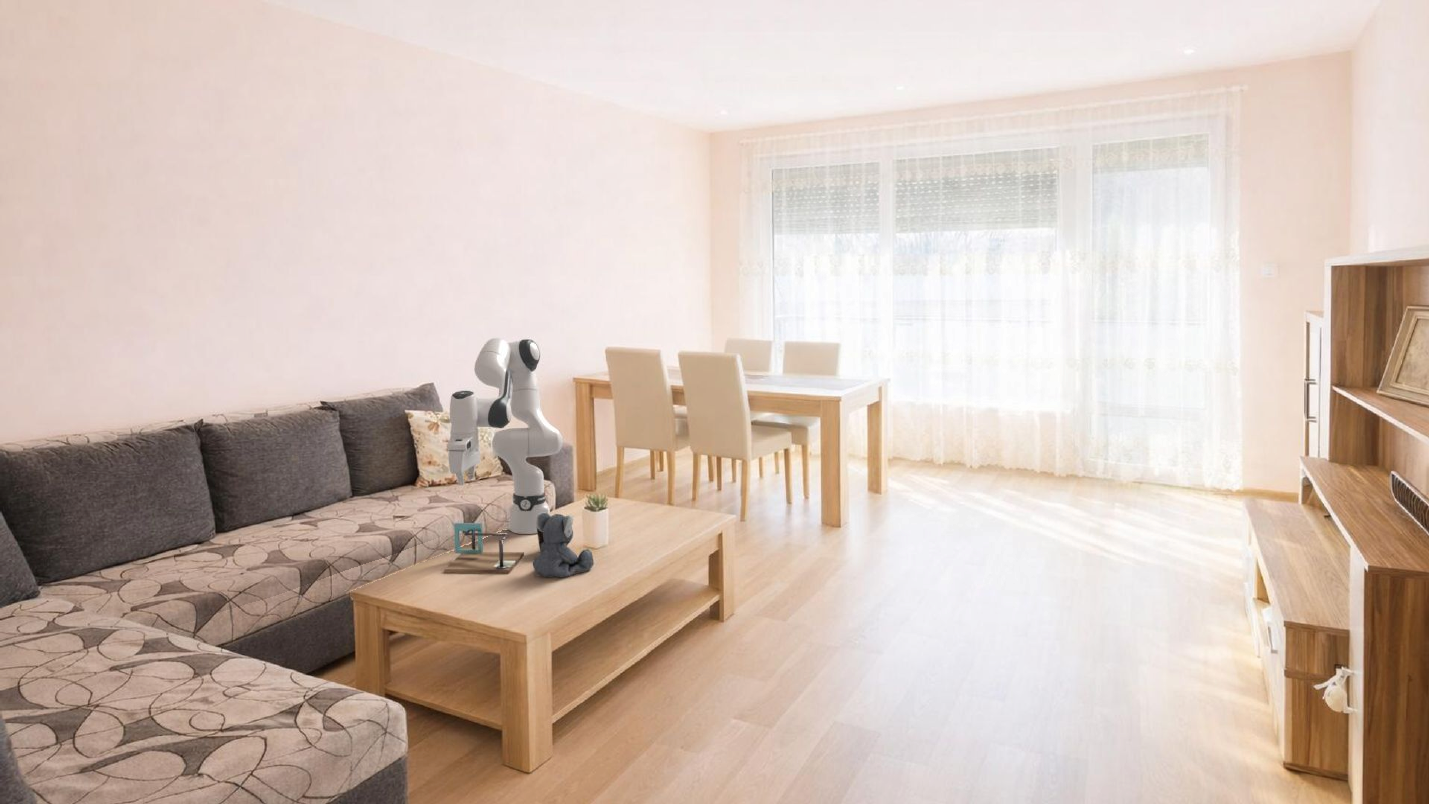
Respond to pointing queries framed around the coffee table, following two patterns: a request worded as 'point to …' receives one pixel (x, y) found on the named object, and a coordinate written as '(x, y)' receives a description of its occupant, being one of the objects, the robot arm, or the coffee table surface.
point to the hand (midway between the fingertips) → (466, 481)
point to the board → (484, 562)
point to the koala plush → (559, 548)
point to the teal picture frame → (468, 527)
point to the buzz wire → (490, 535)
